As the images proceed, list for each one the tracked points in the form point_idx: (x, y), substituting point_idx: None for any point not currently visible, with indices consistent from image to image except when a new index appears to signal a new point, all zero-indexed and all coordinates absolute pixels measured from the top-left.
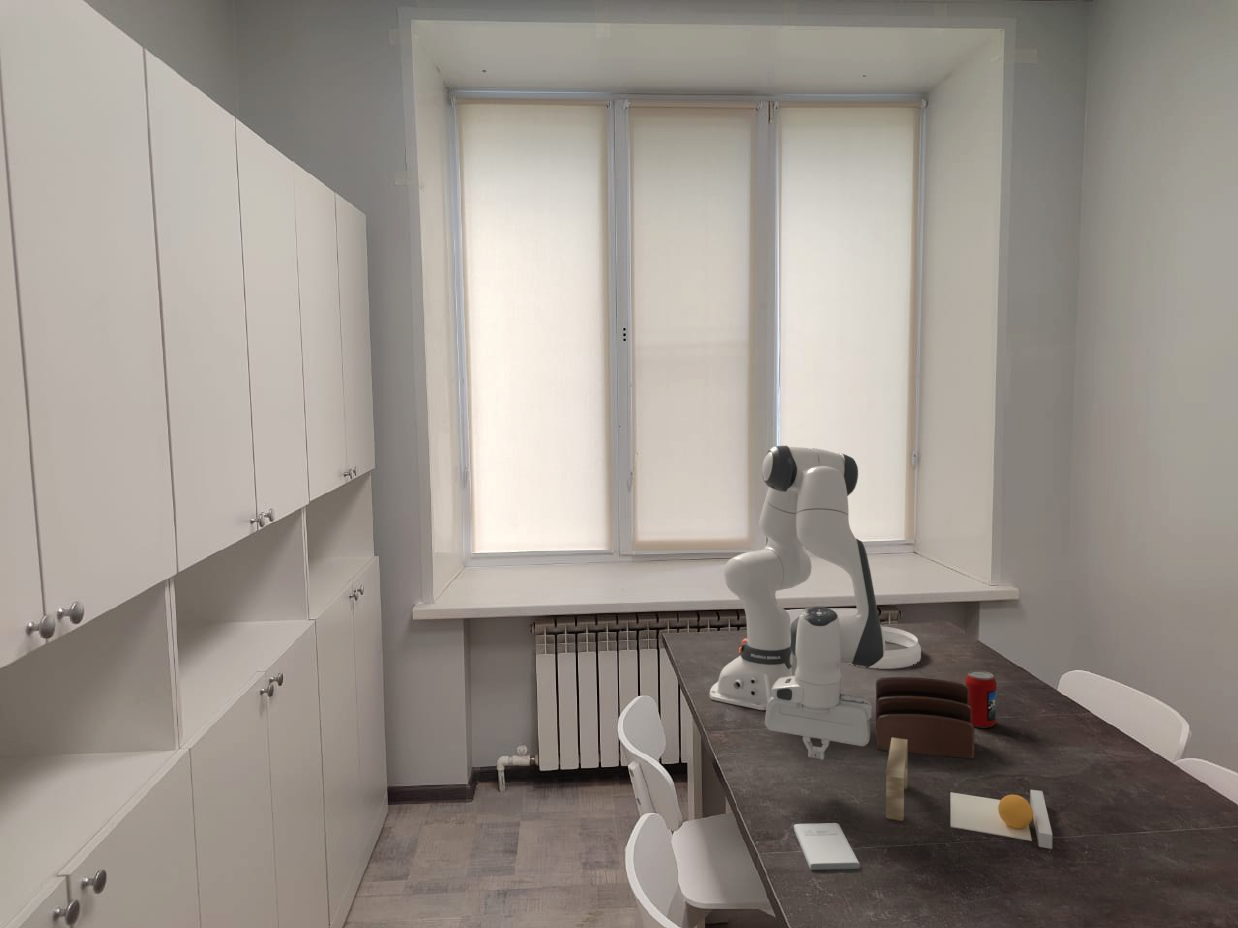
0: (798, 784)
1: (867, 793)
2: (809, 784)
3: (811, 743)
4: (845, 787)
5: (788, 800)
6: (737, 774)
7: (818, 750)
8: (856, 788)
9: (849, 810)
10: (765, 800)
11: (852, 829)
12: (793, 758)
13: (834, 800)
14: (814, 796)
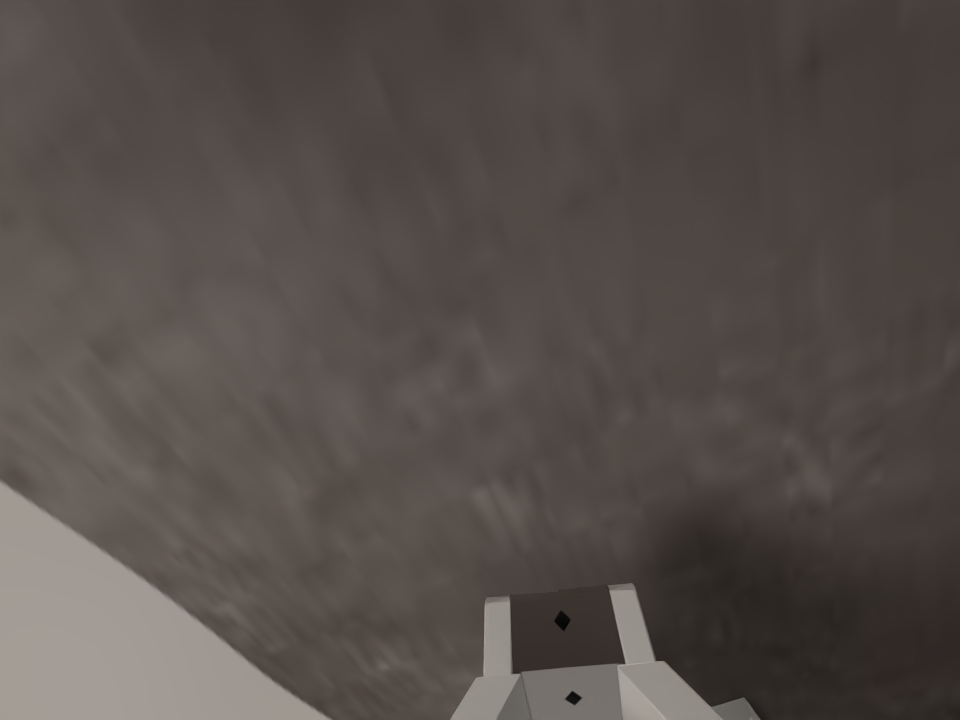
0: (437, 458)
1: (890, 368)
2: (496, 430)
3: (504, 712)
4: (729, 361)
5: (462, 609)
6: (91, 506)
7: (605, 715)
8: (809, 338)
9: (781, 575)
10: (369, 645)
11: (807, 688)
12: (202, 95)
13: (686, 524)
14: (569, 532)
